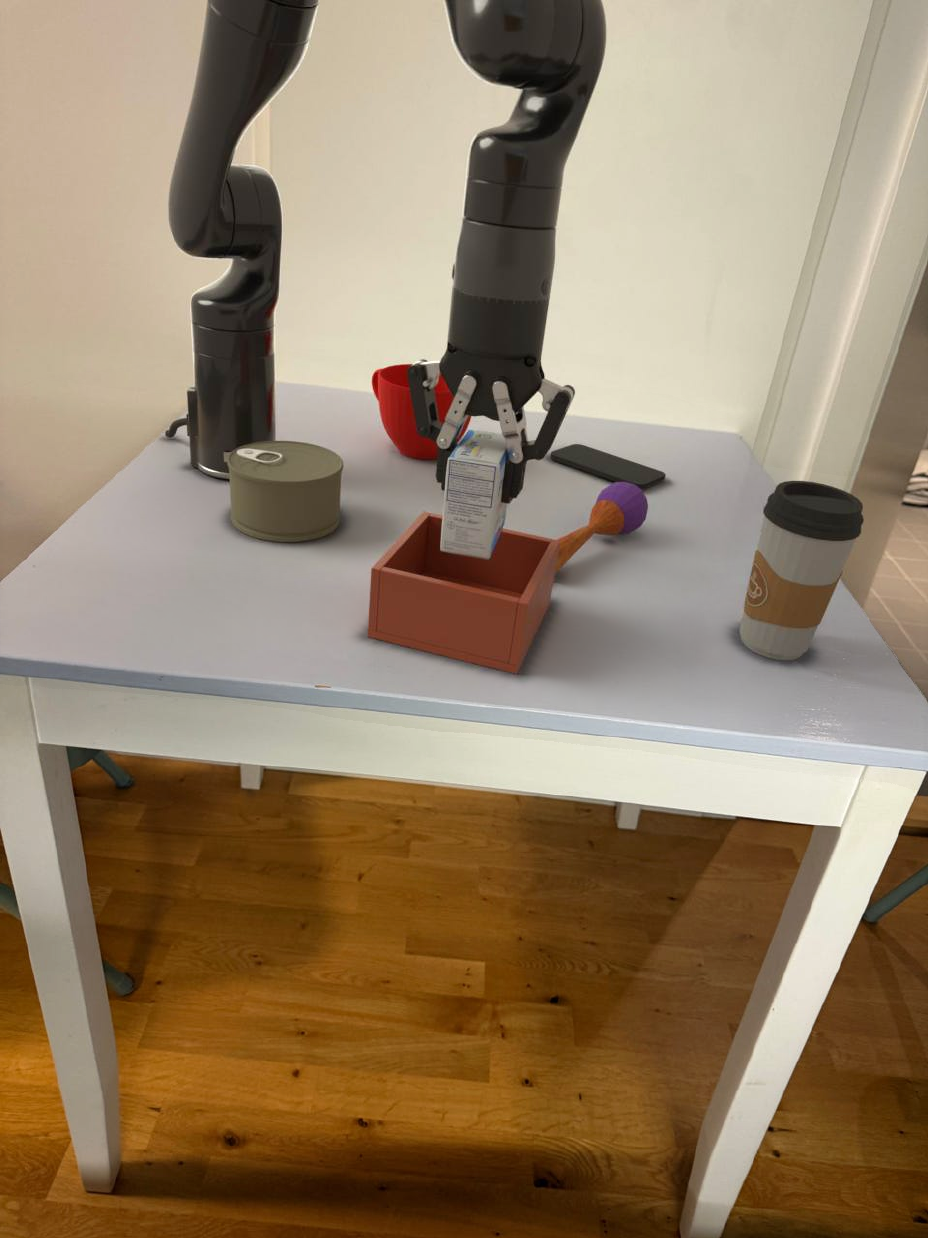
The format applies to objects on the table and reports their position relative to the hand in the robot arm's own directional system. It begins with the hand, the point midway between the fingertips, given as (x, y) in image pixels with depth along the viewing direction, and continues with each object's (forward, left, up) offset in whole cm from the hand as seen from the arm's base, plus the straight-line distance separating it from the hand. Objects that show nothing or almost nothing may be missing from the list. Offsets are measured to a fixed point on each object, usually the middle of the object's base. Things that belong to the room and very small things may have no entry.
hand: (477, 493), depth 77 cm
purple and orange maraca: (+8, +21, -13) cm, 26 cm away
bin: (0, 0, -13) cm, 13 cm away
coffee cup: (+28, +9, -13) cm, 32 cm away
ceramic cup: (-20, +42, -13) cm, 48 cm away
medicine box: (0, 0, -5) cm, 5 cm away
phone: (+6, +48, -13) cm, 50 cm away
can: (-24, +12, -13) cm, 30 cm away
